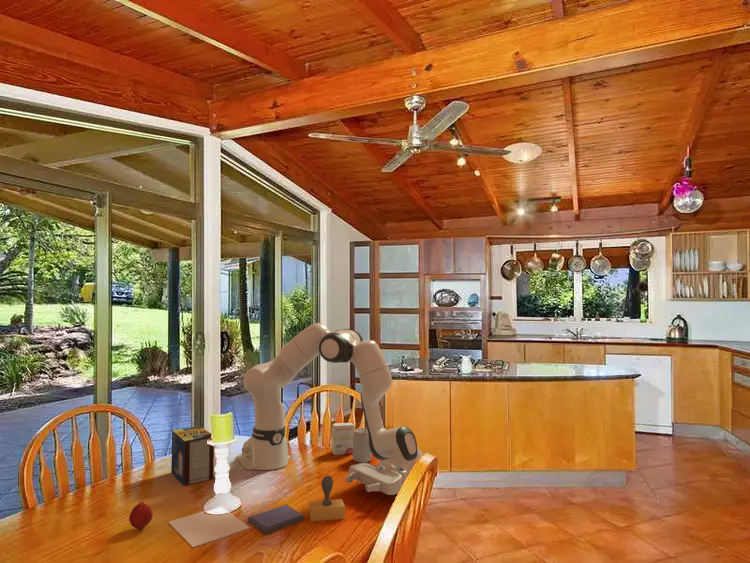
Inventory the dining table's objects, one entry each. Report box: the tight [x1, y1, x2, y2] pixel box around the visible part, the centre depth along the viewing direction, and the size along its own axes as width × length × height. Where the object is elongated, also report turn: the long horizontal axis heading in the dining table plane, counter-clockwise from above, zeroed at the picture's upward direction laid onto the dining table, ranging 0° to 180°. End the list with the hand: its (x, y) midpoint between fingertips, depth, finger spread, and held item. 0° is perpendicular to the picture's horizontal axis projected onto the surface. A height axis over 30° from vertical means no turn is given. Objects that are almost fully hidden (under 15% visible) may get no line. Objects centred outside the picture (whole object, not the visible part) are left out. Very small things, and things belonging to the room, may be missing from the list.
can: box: [352, 427, 373, 464], centre depth 193 cm, size 8×8×12 cm
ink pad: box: [247, 504, 306, 536], centre depth 142 cm, size 10×13×2 cm
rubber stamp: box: [308, 475, 346, 523], centre depth 146 cm, size 10×6×12 cm, turn 103°
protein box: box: [170, 425, 215, 487], centre depth 175 cm, size 10×15×16 cm
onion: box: [128, 500, 154, 531], centre depth 136 cm, size 6×6×8 cm
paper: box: [167, 510, 250, 548], centre depth 139 cm, size 18×16×1 cm
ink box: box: [331, 422, 355, 456], centre depth 202 cm, size 9×5×12 cm, turn 104°
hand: (356, 484), depth 154 cm, fingers open, 8 cm apart
